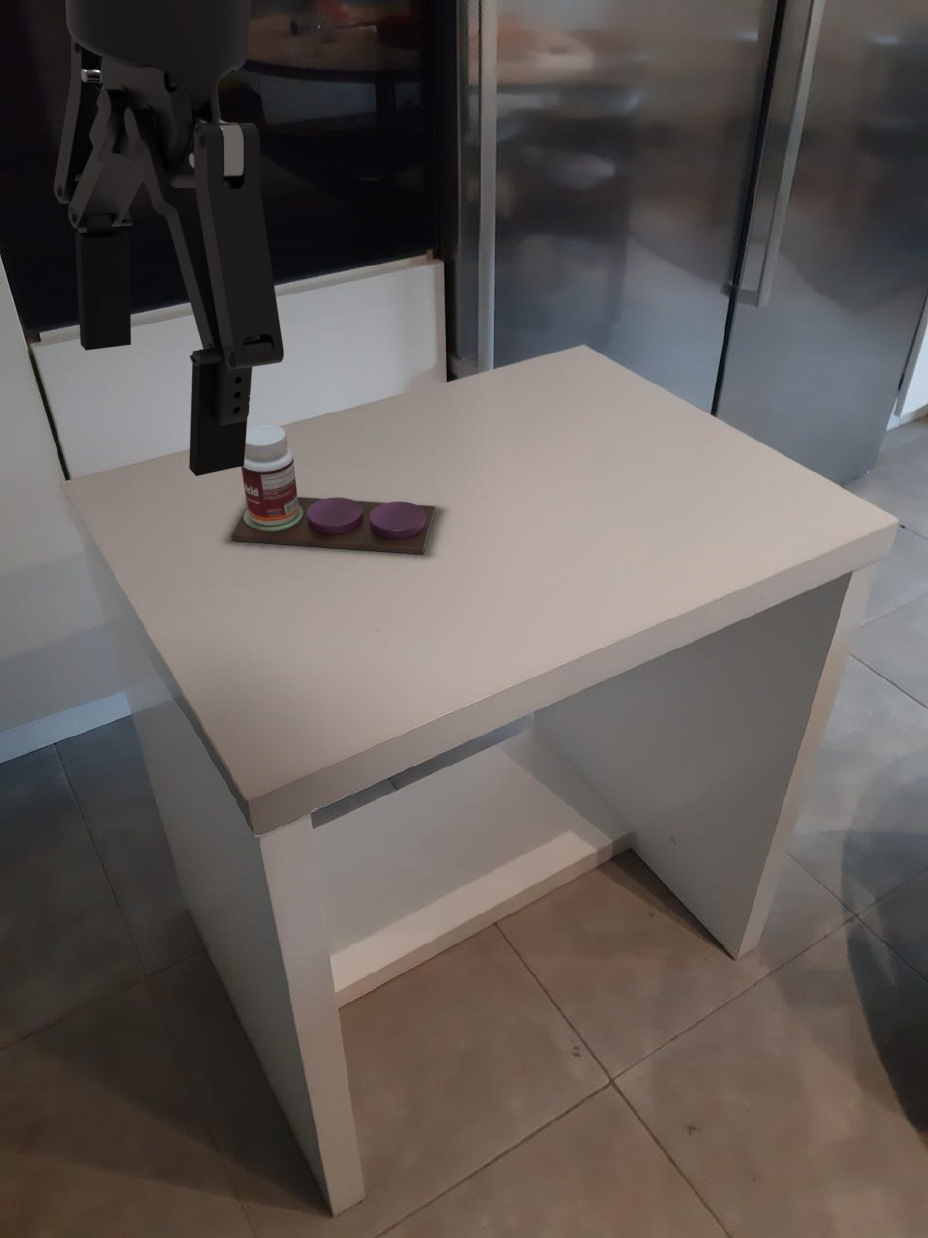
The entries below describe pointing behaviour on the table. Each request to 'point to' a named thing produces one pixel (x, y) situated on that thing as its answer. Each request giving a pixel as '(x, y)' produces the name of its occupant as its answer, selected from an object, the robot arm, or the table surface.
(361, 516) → the board
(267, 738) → the table surface
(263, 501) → the pill bottle
